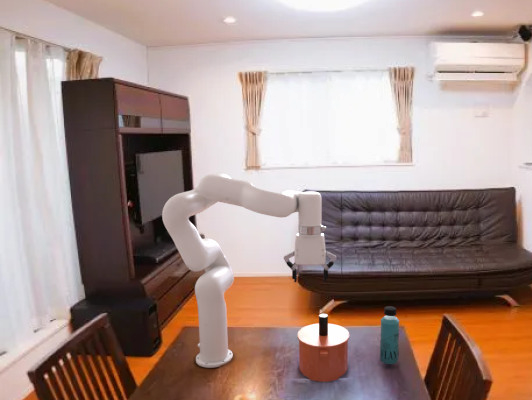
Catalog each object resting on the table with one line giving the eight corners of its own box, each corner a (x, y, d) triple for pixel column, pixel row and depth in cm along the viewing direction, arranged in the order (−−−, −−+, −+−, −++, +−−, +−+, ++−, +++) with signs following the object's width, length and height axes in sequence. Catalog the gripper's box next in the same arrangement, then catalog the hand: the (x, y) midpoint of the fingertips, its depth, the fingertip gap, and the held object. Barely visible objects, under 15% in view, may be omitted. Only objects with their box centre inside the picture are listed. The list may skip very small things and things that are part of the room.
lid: (296, 350, 134) (296, 326, 133) (298, 326, 151) (298, 305, 150) (351, 349, 134) (351, 326, 133) (347, 326, 151) (347, 305, 150)
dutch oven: (298, 386, 133) (298, 351, 131) (300, 353, 154) (300, 322, 153) (349, 386, 133) (350, 351, 132) (344, 352, 154) (345, 322, 153)
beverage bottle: (377, 366, 145) (378, 310, 142) (382, 357, 151) (383, 303, 148) (396, 370, 143) (397, 312, 140) (400, 360, 149) (401, 305, 146)
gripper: (336, 227, 142) (335, 277, 145) (284, 227, 142) (284, 277, 145) (337, 232, 135) (337, 284, 137) (282, 232, 135) (283, 284, 137)
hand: (310, 281), depth 141 cm, fingers open, 9 cm apart
